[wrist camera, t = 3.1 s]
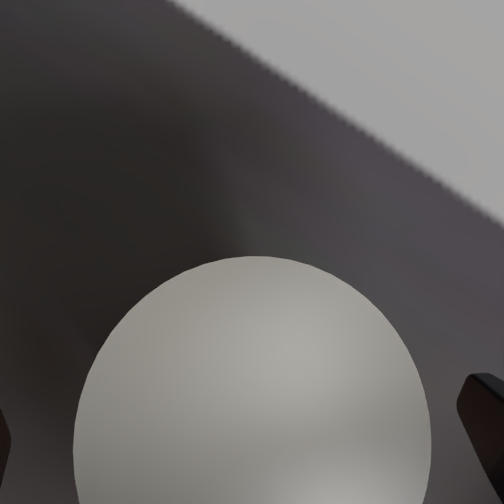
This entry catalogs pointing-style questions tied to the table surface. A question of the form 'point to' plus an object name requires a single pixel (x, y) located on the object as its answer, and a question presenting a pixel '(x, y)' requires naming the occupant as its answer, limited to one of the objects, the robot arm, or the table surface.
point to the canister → (253, 395)
